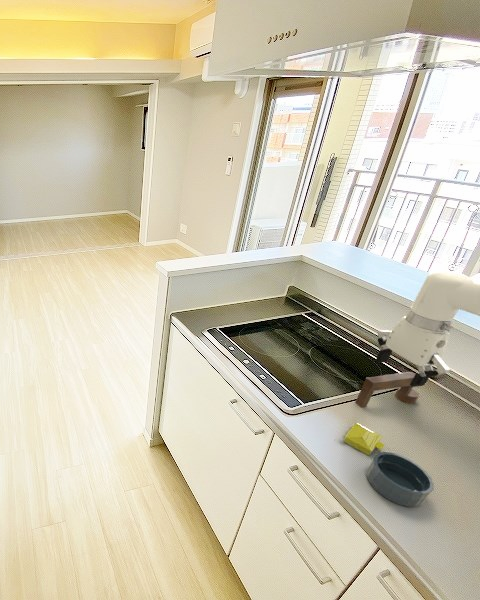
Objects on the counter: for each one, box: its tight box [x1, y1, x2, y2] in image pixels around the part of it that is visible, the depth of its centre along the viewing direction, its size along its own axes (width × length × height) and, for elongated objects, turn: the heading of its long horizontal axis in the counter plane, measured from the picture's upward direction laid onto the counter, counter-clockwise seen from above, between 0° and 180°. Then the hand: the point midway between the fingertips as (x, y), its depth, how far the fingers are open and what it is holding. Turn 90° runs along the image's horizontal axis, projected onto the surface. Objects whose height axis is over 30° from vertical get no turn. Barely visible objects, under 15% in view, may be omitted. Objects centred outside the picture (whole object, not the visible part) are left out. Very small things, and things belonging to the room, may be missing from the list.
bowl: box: [365, 451, 435, 508], centre depth 71 cm, size 10×10×5 cm
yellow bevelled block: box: [343, 422, 390, 456], centre depth 82 cm, size 10×9×3 cm
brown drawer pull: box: [354, 371, 420, 408], centre depth 92 cm, size 17×4×9 cm, turn 98°
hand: (397, 373), depth 89 cm, fingers open, 9 cm apart
